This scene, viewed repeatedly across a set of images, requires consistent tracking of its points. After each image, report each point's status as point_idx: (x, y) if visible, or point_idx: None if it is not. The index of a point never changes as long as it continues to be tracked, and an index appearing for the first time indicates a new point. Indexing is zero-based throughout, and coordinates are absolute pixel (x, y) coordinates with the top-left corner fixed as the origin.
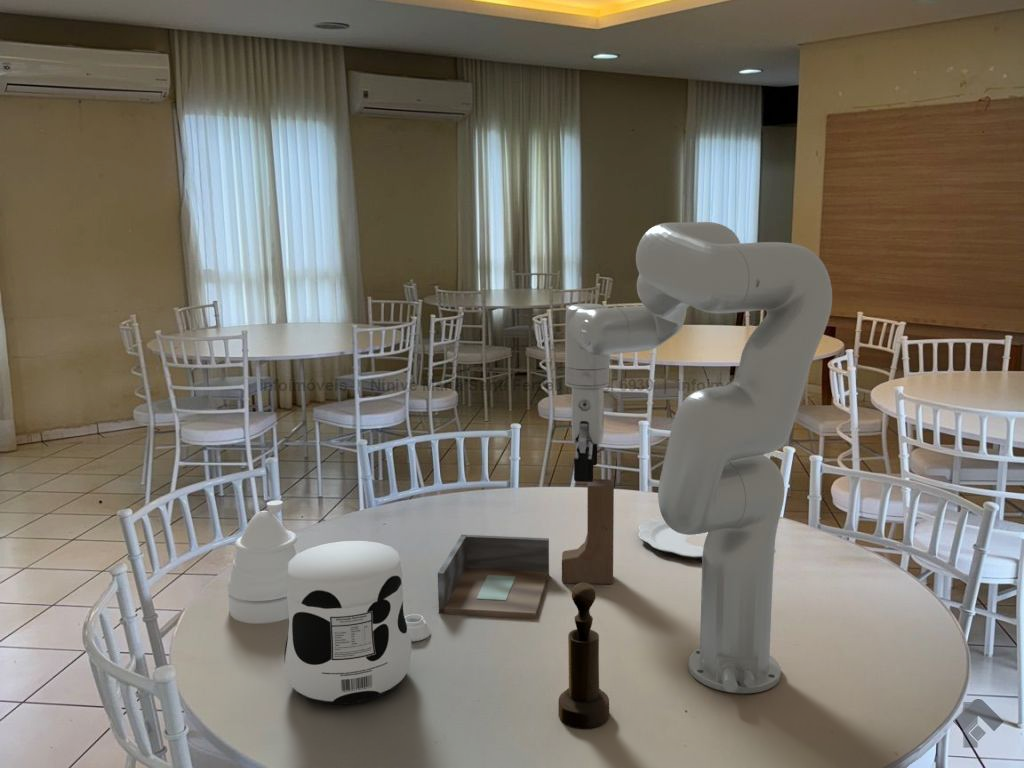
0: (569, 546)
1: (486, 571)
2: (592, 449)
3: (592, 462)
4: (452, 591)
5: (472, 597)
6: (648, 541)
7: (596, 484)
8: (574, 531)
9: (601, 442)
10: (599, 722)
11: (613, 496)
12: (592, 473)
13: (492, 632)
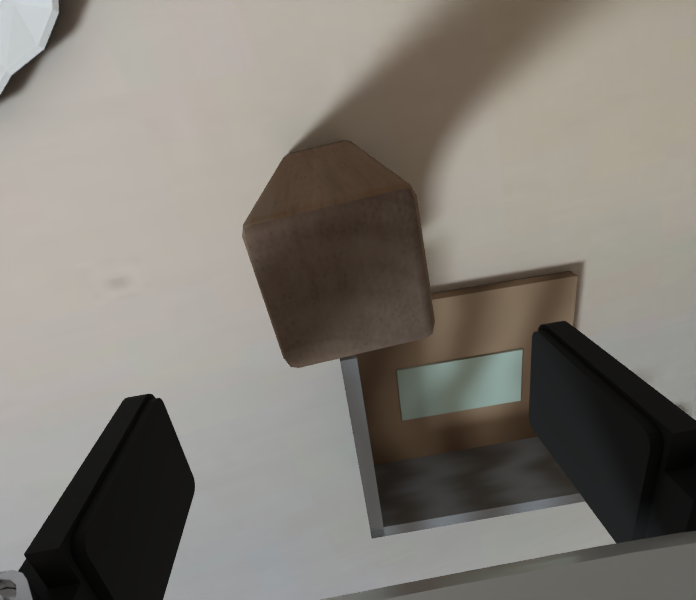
0: (126, 315)
1: (380, 428)
2: (118, 522)
3: (672, 410)
4: (501, 446)
5: (513, 408)
6: (4, 74)
7: (399, 300)
8: (5, 333)
9: (692, 548)
10: None
11: (390, 175)
12: (596, 350)
13: (629, 328)
